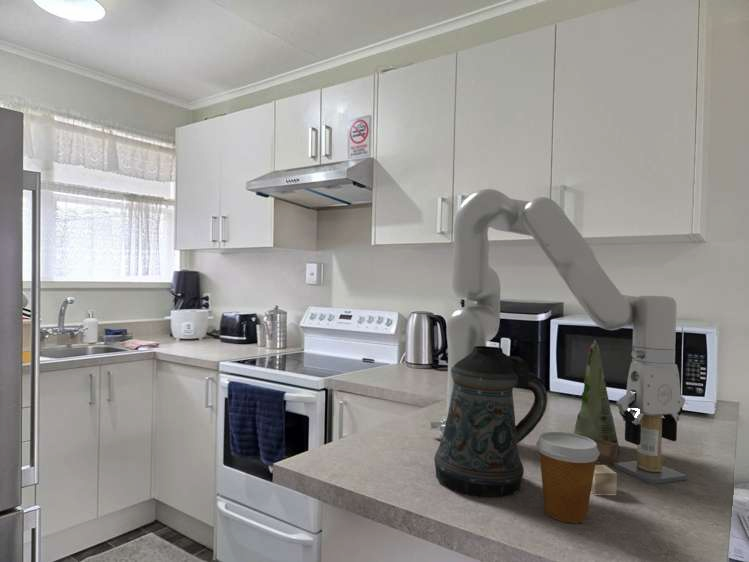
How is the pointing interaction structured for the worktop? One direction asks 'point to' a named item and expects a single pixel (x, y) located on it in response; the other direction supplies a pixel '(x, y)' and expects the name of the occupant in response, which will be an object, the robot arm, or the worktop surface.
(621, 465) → the slate coaster
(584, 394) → the miniature christmas tree
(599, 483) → the beech block
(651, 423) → the sprinkles bottle
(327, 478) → the worktop surface
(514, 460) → the beer stein
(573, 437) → the disposable coffee cup
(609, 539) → the worktop surface
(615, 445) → the walnut block
